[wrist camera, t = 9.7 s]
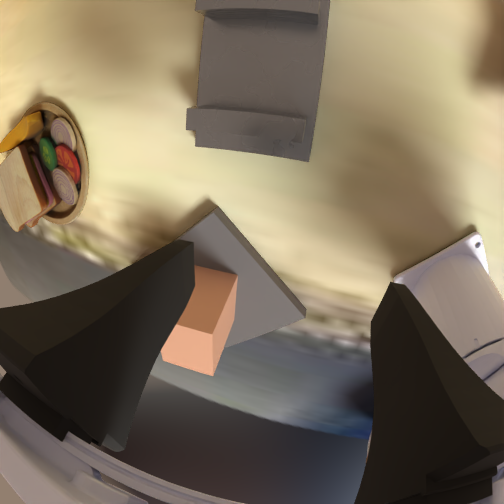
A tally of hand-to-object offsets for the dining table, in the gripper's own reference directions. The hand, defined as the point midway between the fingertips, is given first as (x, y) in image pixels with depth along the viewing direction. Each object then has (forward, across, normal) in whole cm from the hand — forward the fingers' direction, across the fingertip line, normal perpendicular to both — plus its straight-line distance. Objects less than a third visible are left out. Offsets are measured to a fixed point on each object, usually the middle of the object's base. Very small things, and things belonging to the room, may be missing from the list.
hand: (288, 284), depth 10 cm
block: (+8, +6, +9) cm, 14 cm away
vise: (+9, +4, -8) cm, 13 cm away
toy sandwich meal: (+10, +24, 0) cm, 26 cm away
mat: (+9, +6, +10) cm, 15 cm away
